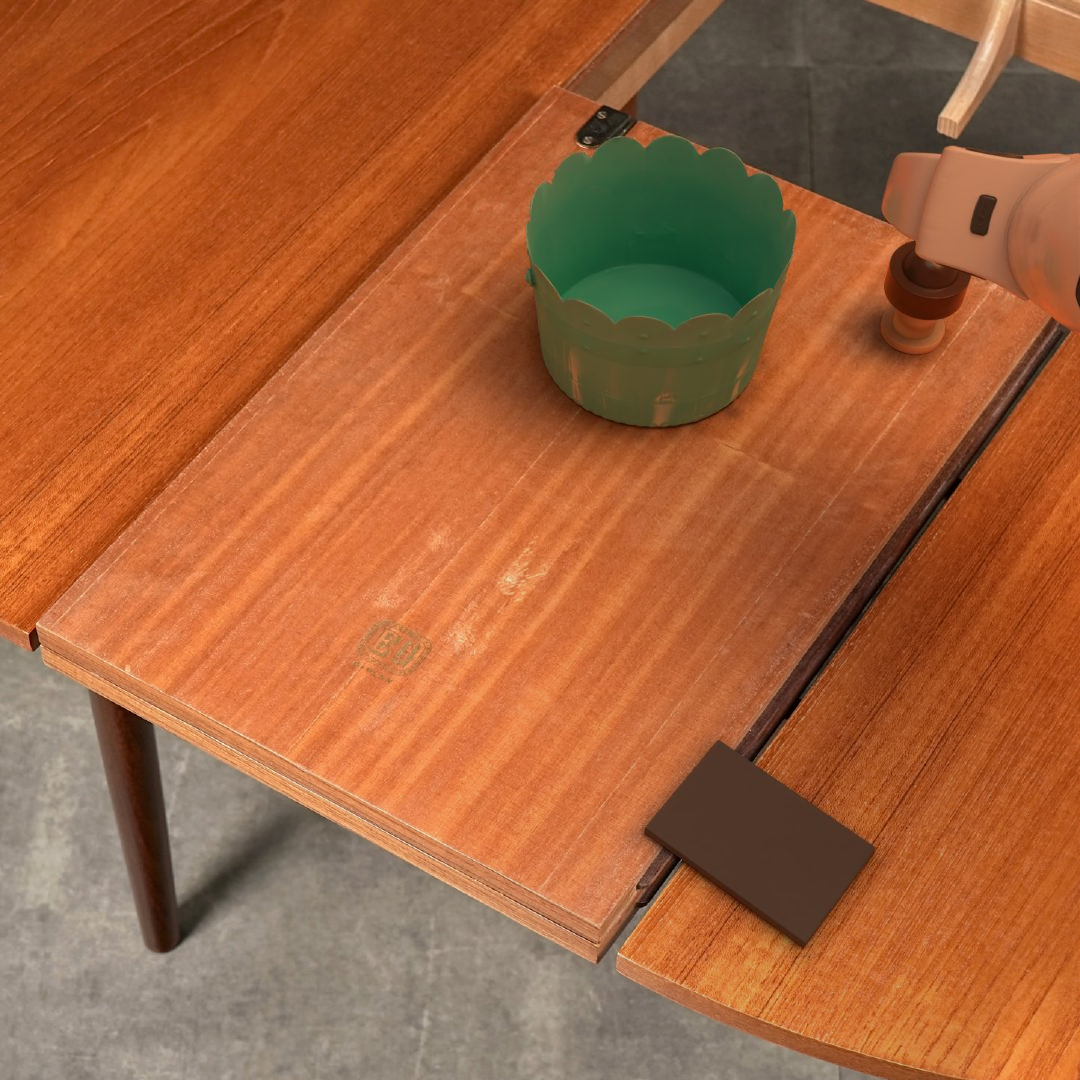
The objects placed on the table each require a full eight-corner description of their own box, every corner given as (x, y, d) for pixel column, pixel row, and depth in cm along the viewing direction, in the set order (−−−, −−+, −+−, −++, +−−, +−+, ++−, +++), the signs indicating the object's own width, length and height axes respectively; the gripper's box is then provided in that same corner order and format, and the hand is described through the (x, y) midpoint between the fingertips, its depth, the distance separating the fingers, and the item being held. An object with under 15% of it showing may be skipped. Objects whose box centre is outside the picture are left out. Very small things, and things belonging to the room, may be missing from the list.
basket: (522, 435, 124) (525, 315, 114) (522, 254, 135) (525, 129, 124) (783, 437, 125) (810, 318, 114) (762, 257, 135) (785, 133, 125)
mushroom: (964, 327, 131) (991, 249, 124) (924, 373, 129) (949, 295, 122) (898, 290, 133) (921, 211, 126) (857, 334, 131) (878, 256, 124)
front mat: (874, 852, 106) (876, 847, 105) (803, 948, 102) (805, 943, 102) (716, 744, 110) (718, 738, 109) (643, 832, 106) (644, 827, 106)
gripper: (1282, 221, 94) (1207, 196, 107) (921, 139, 94) (889, 124, 107) (1244, 331, 96) (1174, 293, 109) (889, 251, 96) (863, 223, 109)
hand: (1030, 209), depth 108 cm, fingers open, 8 cm apart
